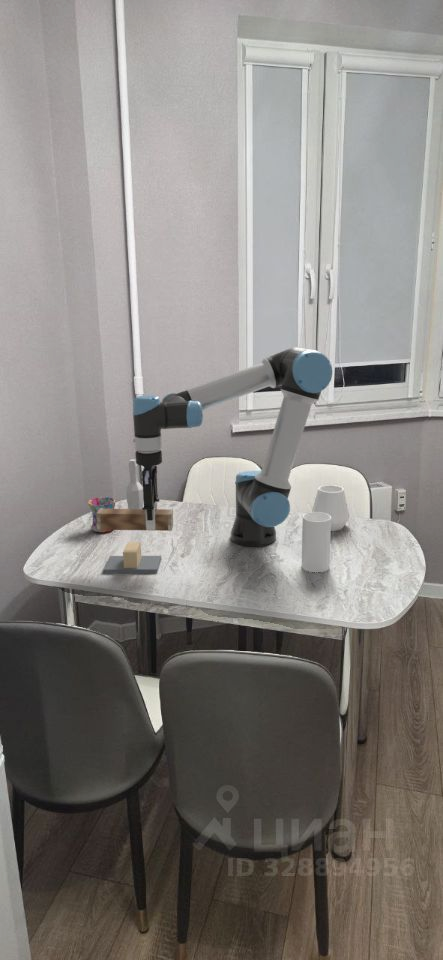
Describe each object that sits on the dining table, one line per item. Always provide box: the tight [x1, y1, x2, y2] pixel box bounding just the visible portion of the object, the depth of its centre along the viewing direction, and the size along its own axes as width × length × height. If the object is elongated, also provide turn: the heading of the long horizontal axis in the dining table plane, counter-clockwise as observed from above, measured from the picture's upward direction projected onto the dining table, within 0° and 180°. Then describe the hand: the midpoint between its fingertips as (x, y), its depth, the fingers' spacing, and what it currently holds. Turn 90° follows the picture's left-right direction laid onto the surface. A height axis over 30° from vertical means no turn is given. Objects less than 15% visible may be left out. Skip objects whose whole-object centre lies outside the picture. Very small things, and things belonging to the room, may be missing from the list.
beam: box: [96, 508, 174, 532], centre depth 182 cm, size 22×5×5 cm, turn 88°
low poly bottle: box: [125, 458, 144, 509], centre depth 225 cm, size 6×6×22 cm
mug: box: [87, 496, 116, 533], centre depth 216 cm, size 12×9×11 cm
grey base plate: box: [102, 541, 162, 574], centre depth 186 cm, size 16×10×6 cm, turn 88°
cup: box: [301, 511, 332, 574], centre depth 182 cm, size 8×8×16 cm
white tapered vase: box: [311, 484, 350, 532], centre depth 214 cm, size 13×13×14 cm
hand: (152, 526), depth 183 cm, fingers closed on beam, 4 cm apart
